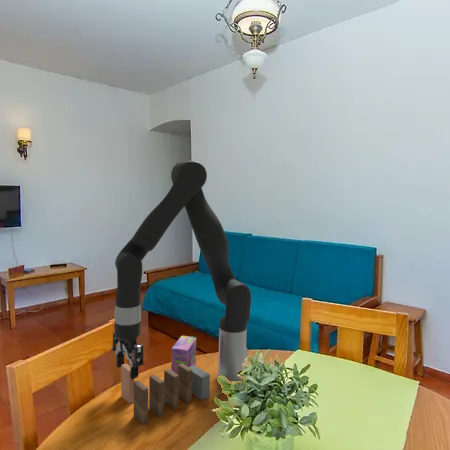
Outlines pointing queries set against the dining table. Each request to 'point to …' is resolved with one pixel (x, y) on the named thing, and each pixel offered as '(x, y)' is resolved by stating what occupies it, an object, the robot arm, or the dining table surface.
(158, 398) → the domino
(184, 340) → the box
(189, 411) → the dining table surface
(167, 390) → the domino
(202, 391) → the block
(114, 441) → the dining table surface
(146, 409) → the domino
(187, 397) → the domino
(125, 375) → the domino end
